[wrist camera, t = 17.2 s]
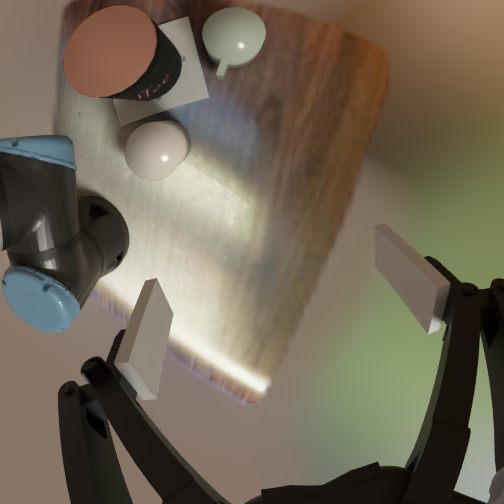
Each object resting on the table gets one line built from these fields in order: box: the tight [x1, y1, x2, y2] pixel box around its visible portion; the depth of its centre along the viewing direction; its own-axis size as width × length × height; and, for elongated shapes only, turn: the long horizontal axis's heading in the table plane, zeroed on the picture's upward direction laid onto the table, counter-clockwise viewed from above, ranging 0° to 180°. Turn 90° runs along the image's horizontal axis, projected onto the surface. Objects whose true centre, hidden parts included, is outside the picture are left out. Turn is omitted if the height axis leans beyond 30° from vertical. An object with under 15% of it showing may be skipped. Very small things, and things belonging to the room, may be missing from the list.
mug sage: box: [202, 7, 266, 80], centre depth 33 cm, size 10×8×9 cm
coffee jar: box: [63, 5, 182, 101], centre depth 28 cm, size 11×11×18 cm
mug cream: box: [122, 120, 191, 181], centre depth 39 cm, size 10×8×9 cm
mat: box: [113, 17, 209, 127], centre depth 36 cm, size 15×15×1 cm
